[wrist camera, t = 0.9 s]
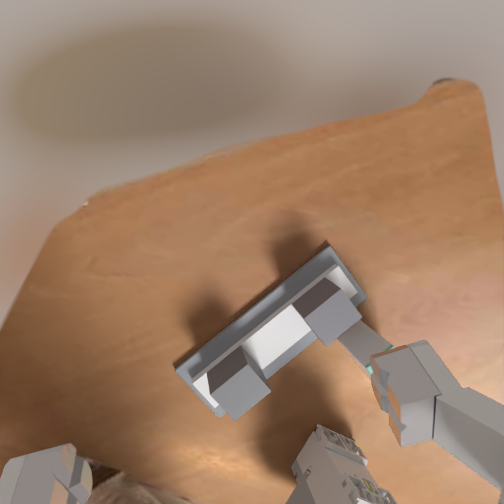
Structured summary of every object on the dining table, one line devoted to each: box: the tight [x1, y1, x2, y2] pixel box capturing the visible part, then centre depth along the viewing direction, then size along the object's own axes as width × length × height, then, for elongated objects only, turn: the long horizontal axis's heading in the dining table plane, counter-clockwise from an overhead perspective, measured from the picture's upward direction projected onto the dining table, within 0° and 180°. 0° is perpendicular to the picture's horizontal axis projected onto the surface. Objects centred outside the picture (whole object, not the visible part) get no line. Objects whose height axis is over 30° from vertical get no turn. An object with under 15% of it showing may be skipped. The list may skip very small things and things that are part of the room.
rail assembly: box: [175, 245, 368, 421], centre depth 56 cm, size 10×28×8 cm, turn 128°
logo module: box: [337, 320, 395, 380], centre depth 58 cm, size 4×7×10 cm, turn 38°
